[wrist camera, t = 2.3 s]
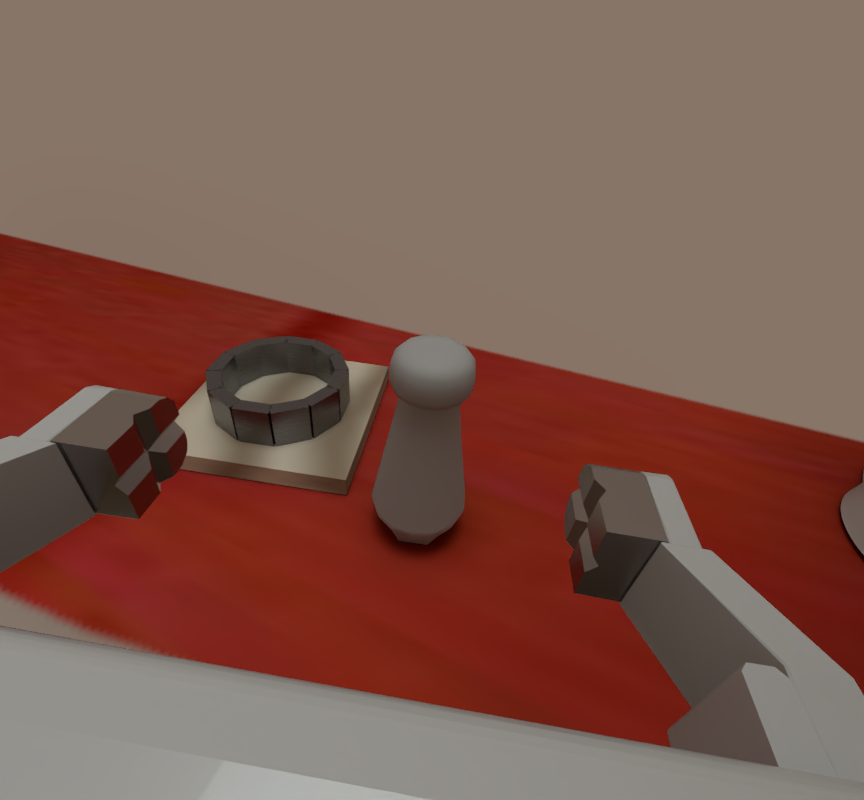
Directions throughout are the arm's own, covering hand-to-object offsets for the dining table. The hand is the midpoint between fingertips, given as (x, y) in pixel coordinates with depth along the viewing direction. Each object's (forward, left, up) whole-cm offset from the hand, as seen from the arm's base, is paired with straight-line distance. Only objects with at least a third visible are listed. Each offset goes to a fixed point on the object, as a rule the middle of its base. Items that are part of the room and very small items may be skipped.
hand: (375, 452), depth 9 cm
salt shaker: (0, -12, -18) cm, 22 cm away
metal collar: (+12, -20, -16) cm, 28 cm away
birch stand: (+12, -20, -18) cm, 29 cm away
